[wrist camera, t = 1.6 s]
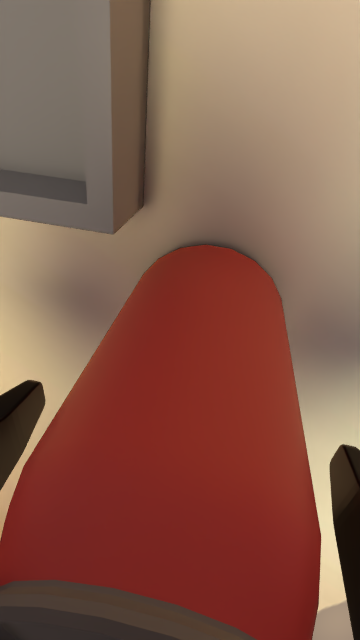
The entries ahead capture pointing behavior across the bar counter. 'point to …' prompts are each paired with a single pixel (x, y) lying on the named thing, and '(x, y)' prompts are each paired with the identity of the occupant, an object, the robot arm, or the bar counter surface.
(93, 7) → the tray
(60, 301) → the bar counter surface
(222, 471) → the beer can
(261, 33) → the bar counter surface
